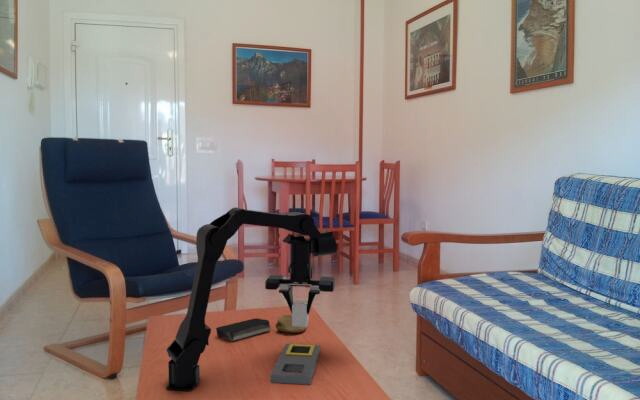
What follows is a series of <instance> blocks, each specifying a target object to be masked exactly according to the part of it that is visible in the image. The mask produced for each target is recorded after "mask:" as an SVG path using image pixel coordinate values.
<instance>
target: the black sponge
mask: <svg viewBox="0 0 640 400" xmlns="http://www.w3.org/2000/svg"><path fill="white" fill-rule="evenodd" d="M215 329H216V336H217V337H219V338H222V339H225V340H227V341H233V342H234V341H237V340H241V339H245V338H247V337H252V336H255V335H259V334H262V333H263V334H264V333H265V332H269V331H270V330H271V324H270V321H269V320H268V319H264V318H258V317H257V318H251V319H247V320H242V321H240V322H239V321H238V322H235V323H231V324H226V325H222V326H218V327H216V328H215Z"/></svg>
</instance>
